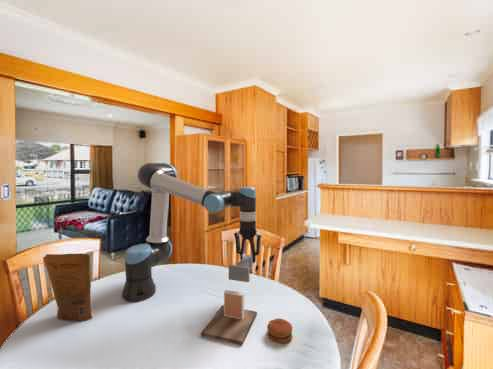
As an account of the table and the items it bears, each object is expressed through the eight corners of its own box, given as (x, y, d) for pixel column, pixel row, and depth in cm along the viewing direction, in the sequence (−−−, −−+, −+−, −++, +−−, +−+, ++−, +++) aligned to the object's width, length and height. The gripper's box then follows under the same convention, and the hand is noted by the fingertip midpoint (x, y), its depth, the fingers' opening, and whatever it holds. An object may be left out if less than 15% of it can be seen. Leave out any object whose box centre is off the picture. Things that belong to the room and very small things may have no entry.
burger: (294, 345, 88) (294, 332, 87) (267, 344, 88) (267, 331, 88) (290, 327, 97) (290, 315, 97) (266, 326, 98) (266, 315, 97)
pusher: (228, 279, 107) (228, 265, 107) (240, 266, 122) (240, 254, 122) (248, 282, 105) (248, 268, 104) (258, 268, 119) (258, 256, 119)
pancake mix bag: (86, 325, 98) (83, 256, 96) (44, 321, 101) (40, 253, 99) (99, 315, 105) (96, 250, 103) (59, 311, 108) (56, 248, 106)
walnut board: (201, 335, 92) (201, 332, 92) (222, 308, 110) (222, 305, 110) (242, 345, 87) (242, 341, 87) (256, 315, 105) (256, 311, 105)
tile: (224, 315, 102) (223, 292, 101) (226, 313, 104) (225, 289, 103) (242, 319, 100) (242, 295, 99) (244, 316, 102) (244, 292, 101)
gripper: (228, 220, 116) (228, 269, 117) (262, 222, 111) (262, 273, 112) (234, 217, 123) (234, 263, 125) (266, 219, 118) (266, 267, 119)
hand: (248, 268), depth 118 cm, fingers closed on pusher, 3 cm apart
